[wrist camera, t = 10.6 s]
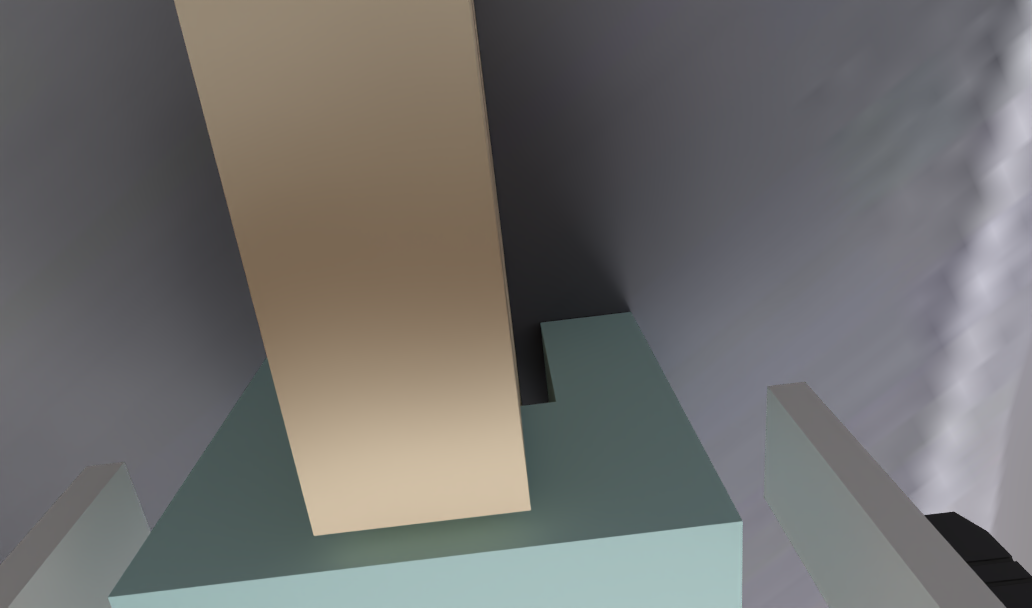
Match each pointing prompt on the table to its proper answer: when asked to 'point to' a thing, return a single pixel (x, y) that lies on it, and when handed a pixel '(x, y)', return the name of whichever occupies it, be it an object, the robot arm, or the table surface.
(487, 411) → the light wooden block
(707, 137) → the table surface
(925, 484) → the table surface
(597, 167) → the table surface
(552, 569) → the cross piece
